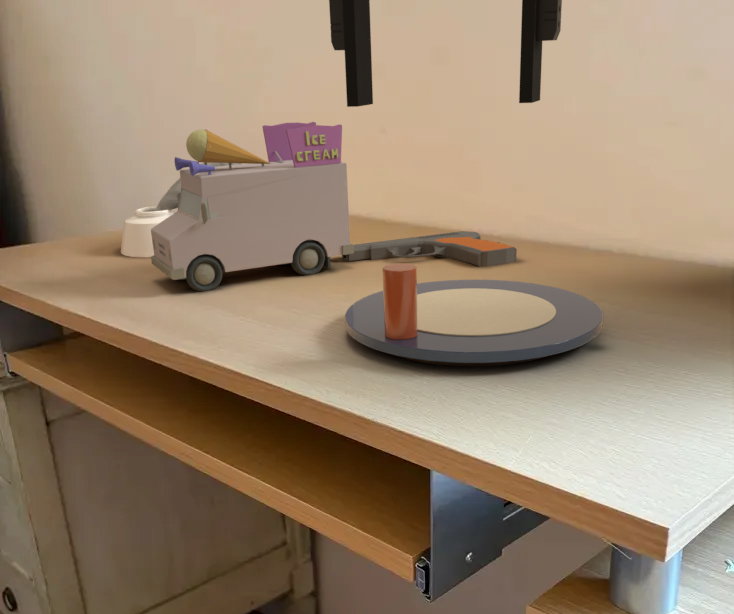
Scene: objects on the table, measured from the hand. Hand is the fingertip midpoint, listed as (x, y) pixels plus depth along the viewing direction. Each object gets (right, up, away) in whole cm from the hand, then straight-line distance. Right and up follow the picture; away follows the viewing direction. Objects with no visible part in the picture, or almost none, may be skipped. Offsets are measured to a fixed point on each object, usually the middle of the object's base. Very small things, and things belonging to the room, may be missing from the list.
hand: (441, 103), depth 52 cm
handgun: (+2, -4, +38) cm, 38 cm away
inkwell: (-27, +1, +51) cm, 58 cm away
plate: (+4, -12, +13) cm, 18 cm away
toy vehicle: (-16, -6, +35) cm, 39 cm away
